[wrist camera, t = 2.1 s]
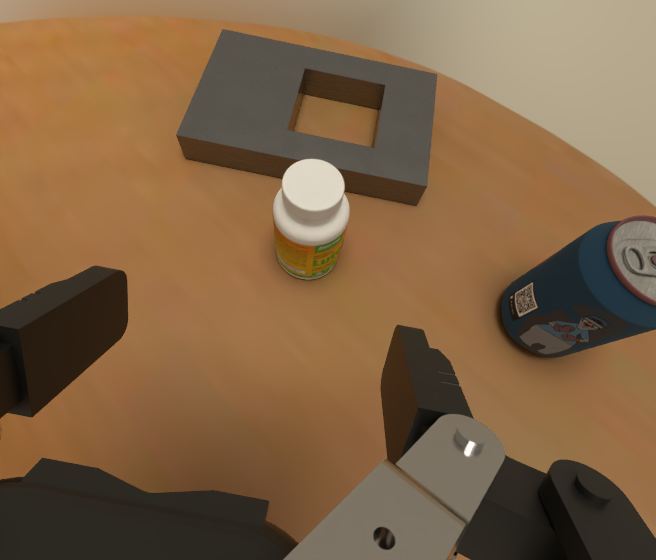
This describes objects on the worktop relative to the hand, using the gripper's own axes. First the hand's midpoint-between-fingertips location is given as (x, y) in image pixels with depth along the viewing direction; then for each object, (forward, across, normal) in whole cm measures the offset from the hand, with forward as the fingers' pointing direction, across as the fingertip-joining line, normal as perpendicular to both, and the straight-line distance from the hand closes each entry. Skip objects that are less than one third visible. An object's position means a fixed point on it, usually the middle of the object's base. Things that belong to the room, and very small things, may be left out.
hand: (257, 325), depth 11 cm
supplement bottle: (+21, 0, +5) cm, 22 cm away
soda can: (+20, -20, +6) cm, 29 cm away
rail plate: (+31, +2, -5) cm, 32 cm away
